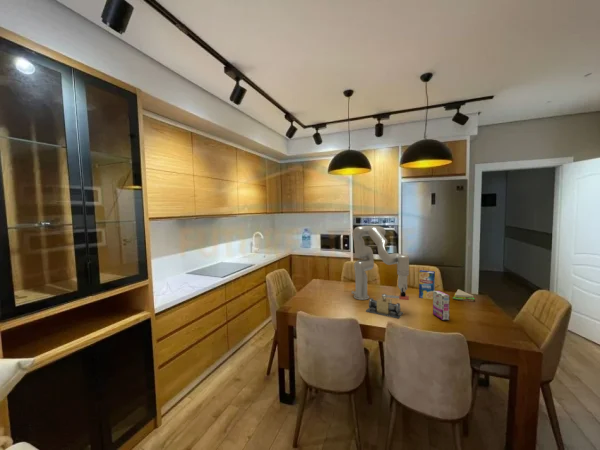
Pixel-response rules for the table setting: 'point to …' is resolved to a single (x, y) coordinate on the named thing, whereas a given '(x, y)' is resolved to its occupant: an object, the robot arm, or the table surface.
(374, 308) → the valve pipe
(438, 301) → the candy bar box
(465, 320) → the table surface
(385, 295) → the valve lever
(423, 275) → the blue cereal box
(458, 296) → the sandwich
